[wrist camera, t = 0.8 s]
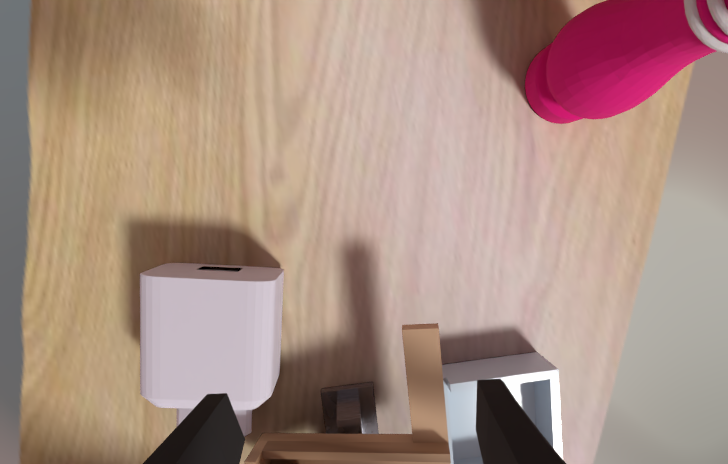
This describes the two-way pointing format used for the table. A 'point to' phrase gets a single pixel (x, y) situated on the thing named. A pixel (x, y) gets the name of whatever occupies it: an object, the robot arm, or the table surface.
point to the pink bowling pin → (621, 55)
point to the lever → (380, 451)
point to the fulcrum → (350, 409)
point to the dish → (524, 380)
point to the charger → (210, 336)
